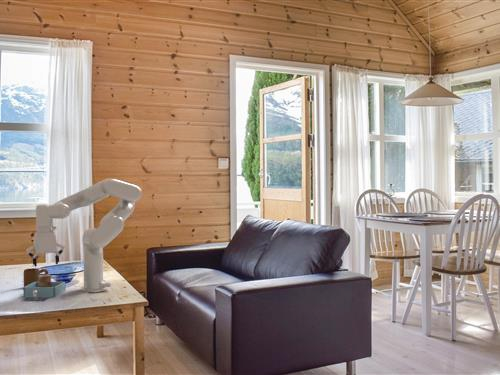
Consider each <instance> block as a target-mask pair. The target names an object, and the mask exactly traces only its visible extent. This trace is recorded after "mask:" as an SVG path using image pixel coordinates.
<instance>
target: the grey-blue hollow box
mask: <svg viewBox="0 0 500 375" xmlns="http://www.w3.org/2000/svg"><path fill="white" fill-rule="evenodd" d="M33 296H34V297H24V298H23V299H21V300H20V302H45V301H47V300H49V299H50V297H37V290H34V291H33Z"/></svg>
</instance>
